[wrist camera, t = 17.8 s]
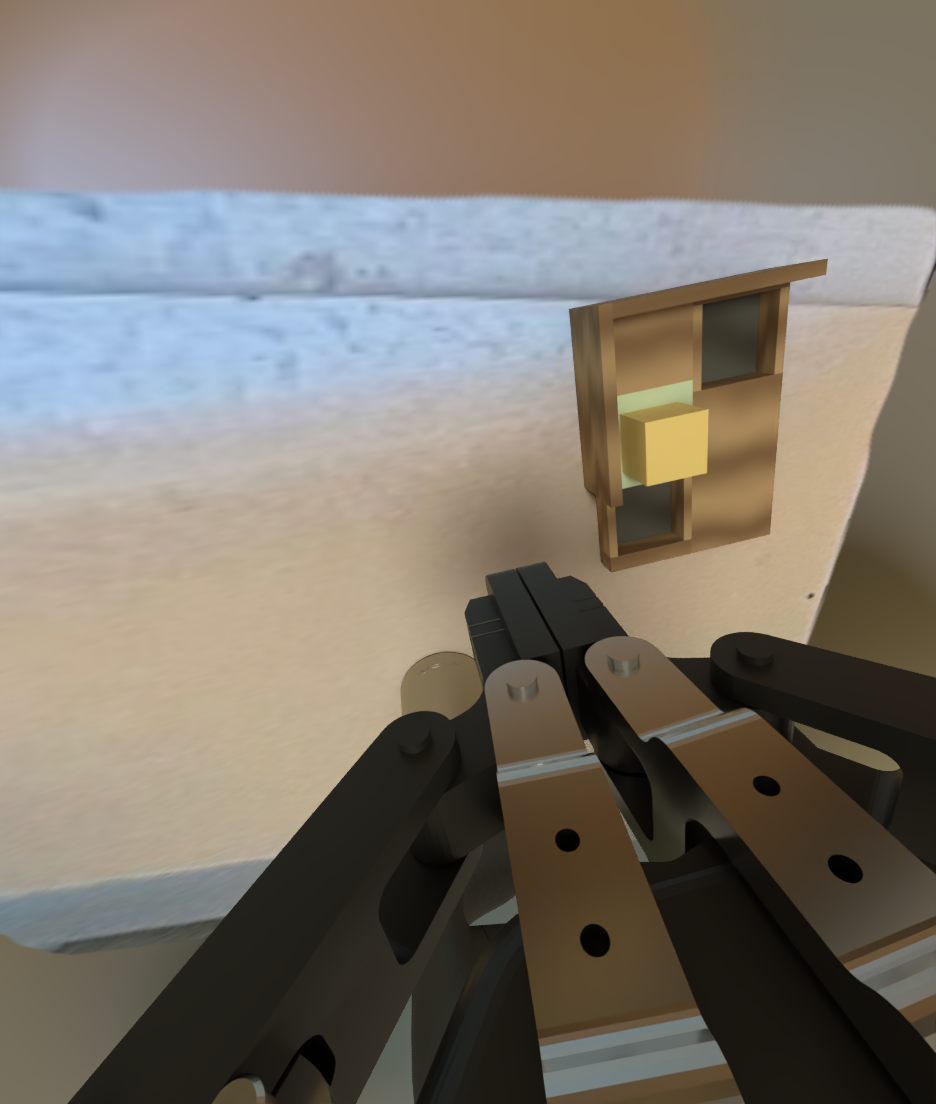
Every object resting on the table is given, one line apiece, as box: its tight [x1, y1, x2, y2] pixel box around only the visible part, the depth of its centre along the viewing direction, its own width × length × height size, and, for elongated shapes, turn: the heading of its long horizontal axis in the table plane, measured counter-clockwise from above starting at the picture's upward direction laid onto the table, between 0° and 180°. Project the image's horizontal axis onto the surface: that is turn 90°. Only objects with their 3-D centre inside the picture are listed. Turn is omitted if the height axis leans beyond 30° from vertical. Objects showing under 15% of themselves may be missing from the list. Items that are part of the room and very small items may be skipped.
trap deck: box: [569, 259, 828, 572], centre depth 43 cm, size 23×17×6 cm
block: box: [620, 402, 709, 486], centre depth 41 cm, size 5×5×4 cm
